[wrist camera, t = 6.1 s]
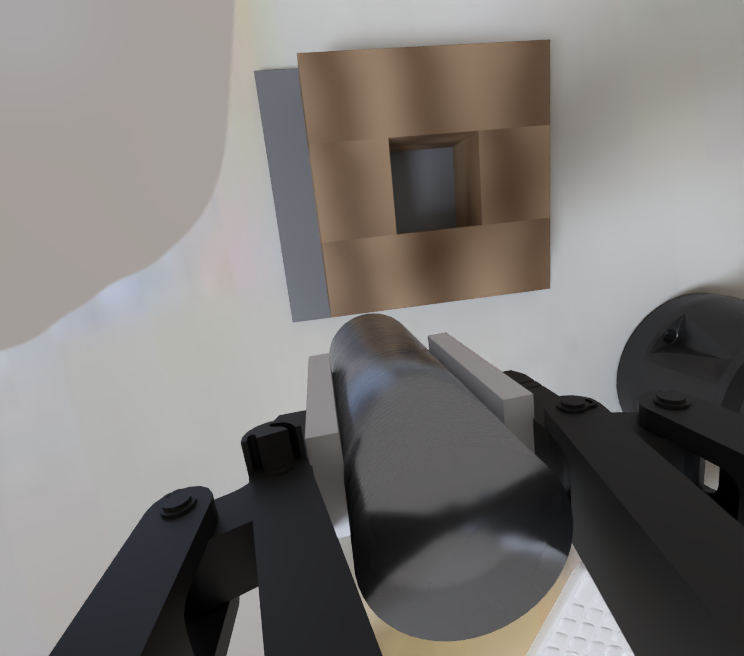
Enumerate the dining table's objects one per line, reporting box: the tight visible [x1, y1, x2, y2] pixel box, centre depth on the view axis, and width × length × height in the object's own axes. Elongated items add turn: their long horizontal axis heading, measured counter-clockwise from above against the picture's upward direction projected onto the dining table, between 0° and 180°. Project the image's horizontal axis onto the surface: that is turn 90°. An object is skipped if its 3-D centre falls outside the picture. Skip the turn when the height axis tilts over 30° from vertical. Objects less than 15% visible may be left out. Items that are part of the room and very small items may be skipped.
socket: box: [254, 40, 550, 322], centre depth 29 cm, size 22×18×6 cm
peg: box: [329, 314, 573, 641], centre depth 13 cm, size 4×4×12 cm
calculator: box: [526, 562, 635, 656], centre depth 46 cm, size 13×20×2 cm, turn 157°
